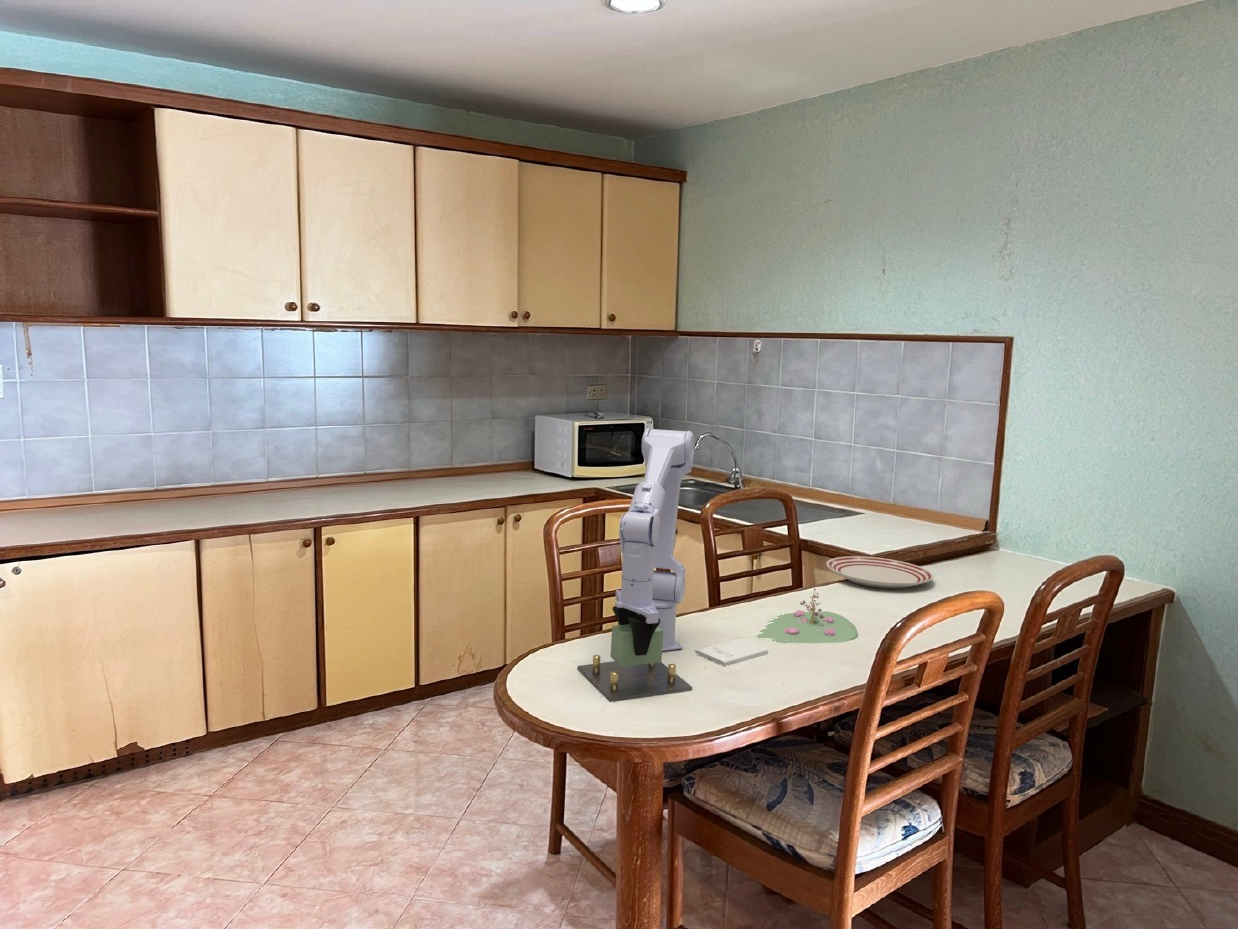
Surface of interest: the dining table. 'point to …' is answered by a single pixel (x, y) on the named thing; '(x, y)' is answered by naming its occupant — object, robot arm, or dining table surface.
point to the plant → (810, 627)
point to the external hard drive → (732, 651)
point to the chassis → (633, 679)
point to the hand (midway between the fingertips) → (634, 649)
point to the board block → (625, 647)
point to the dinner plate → (879, 572)
